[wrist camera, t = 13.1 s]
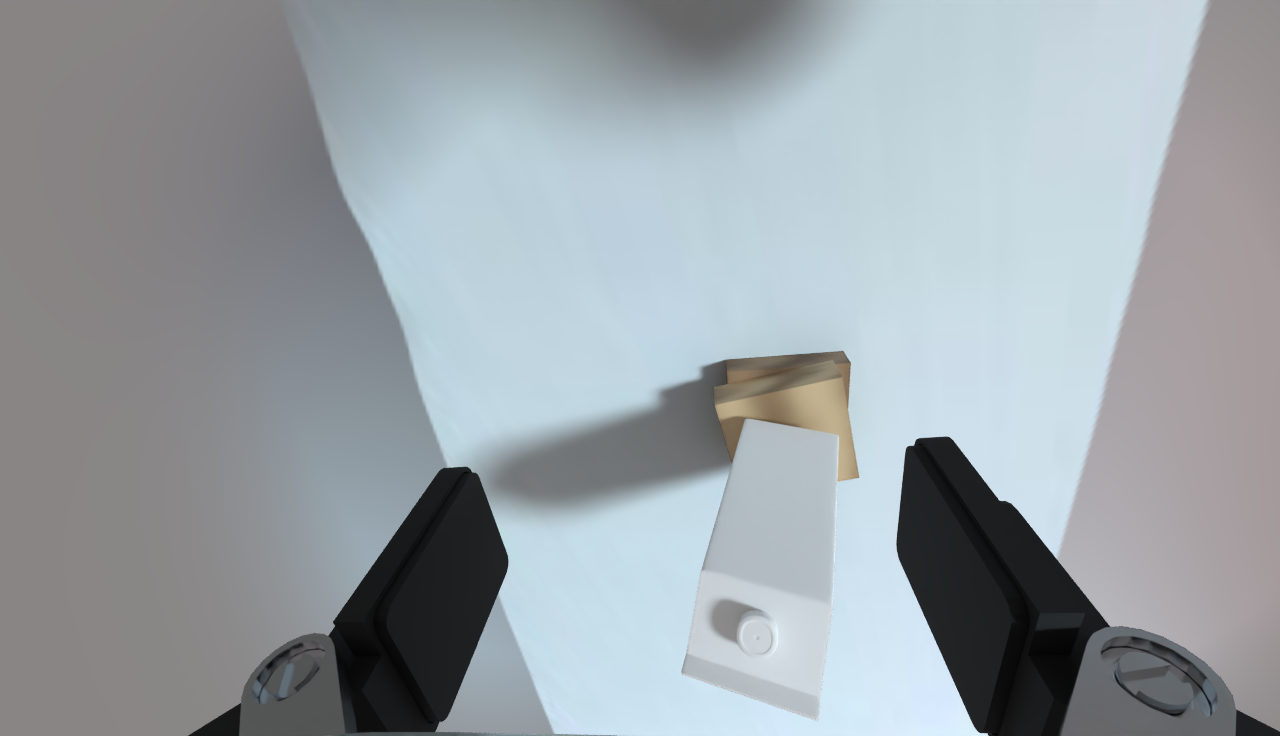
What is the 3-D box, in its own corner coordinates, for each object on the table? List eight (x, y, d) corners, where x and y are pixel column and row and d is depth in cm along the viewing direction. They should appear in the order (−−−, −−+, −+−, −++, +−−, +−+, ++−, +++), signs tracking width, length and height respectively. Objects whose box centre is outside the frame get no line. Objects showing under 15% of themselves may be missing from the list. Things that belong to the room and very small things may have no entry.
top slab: (832, 359, 42) (842, 377, 39) (849, 456, 46) (859, 477, 43) (713, 387, 44) (714, 405, 41) (739, 476, 48) (742, 498, 45)
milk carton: (824, 499, 42) (808, 752, 27) (739, 481, 44) (680, 705, 29) (839, 433, 39) (830, 682, 23) (745, 416, 41) (682, 635, 26)
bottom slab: (841, 347, 44) (850, 363, 42) (836, 442, 49) (844, 461, 46) (725, 356, 46) (727, 371, 43) (730, 447, 50) (732, 466, 47)
